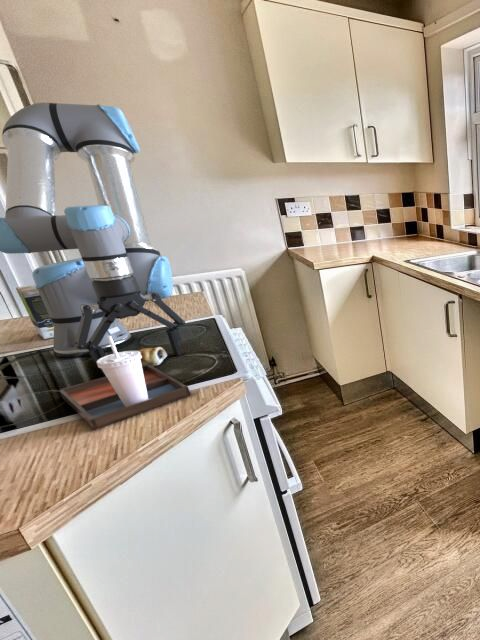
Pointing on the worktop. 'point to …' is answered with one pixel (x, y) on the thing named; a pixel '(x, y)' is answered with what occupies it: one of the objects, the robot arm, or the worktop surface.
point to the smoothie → (125, 374)
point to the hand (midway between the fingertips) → (145, 363)
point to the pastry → (152, 356)
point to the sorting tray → (106, 407)
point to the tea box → (36, 310)
